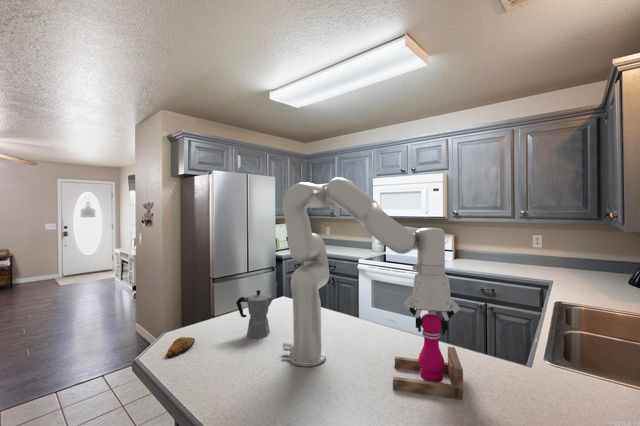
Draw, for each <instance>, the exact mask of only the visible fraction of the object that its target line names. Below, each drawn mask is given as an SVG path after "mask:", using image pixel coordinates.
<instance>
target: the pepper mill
mask: <svg viewBox="0 0 640 426" xmlns="http://www.w3.org/2000/svg"><path fill="white" fill-rule="evenodd" d="M441 328H442V321H441V318H440V315H439V316H438V315H437V314H435V311H427V313H426V314H423V315H422V316H421V332H422V337H423V340H424V341H423V346H422V349H421V351H420V352H419V355H418V359H419V360H418V362H419V365H420V366H421V369H420V371H419V376H420V378H421V380H423V381H430V382H438V383H442V382H443V380H444V374H443V372H442V370H443V369H444V367H445V363H444V362H445V359H444V357H443V354H442V352H441V349H440V343H439V341H440V340H439V339H441V333H442V332H441V331H440V330H441Z"/></svg>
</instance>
